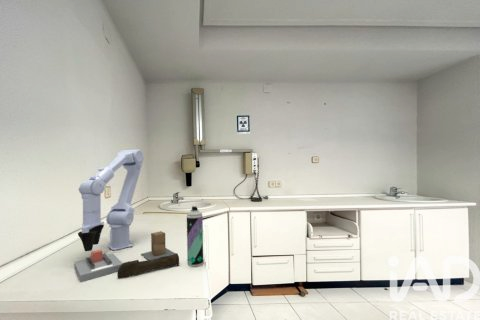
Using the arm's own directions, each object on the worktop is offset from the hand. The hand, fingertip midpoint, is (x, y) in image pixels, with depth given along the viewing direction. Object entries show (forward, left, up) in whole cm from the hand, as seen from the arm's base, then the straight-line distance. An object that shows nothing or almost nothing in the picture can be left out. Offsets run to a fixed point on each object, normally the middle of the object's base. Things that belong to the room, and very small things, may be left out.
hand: (91, 247), depth 88 cm
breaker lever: (+9, 0, -3) cm, 10 cm away
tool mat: (+14, +20, -5) cm, 25 cm away
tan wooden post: (+14, +20, -4) cm, 25 cm away
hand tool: (+26, +12, -5) cm, 29 cm away
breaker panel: (+12, 0, -5) cm, 13 cm away
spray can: (+32, +26, -5) cm, 41 cm away
